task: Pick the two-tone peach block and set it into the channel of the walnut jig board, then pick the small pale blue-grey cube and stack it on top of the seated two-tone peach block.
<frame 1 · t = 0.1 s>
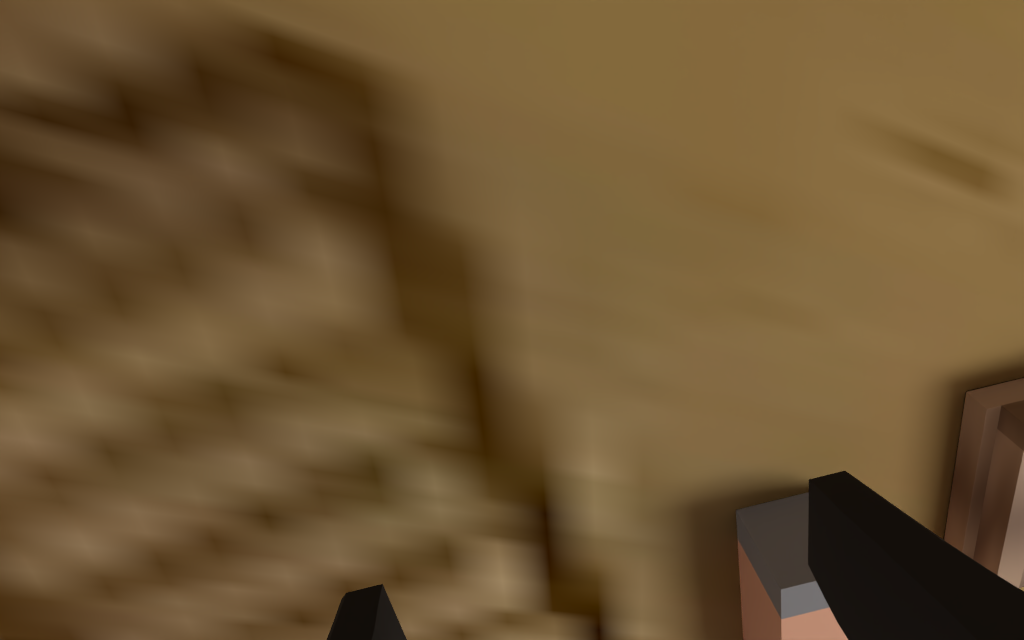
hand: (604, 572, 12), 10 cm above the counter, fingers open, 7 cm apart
two-tone peach block: (784, 571, 28), on the counter
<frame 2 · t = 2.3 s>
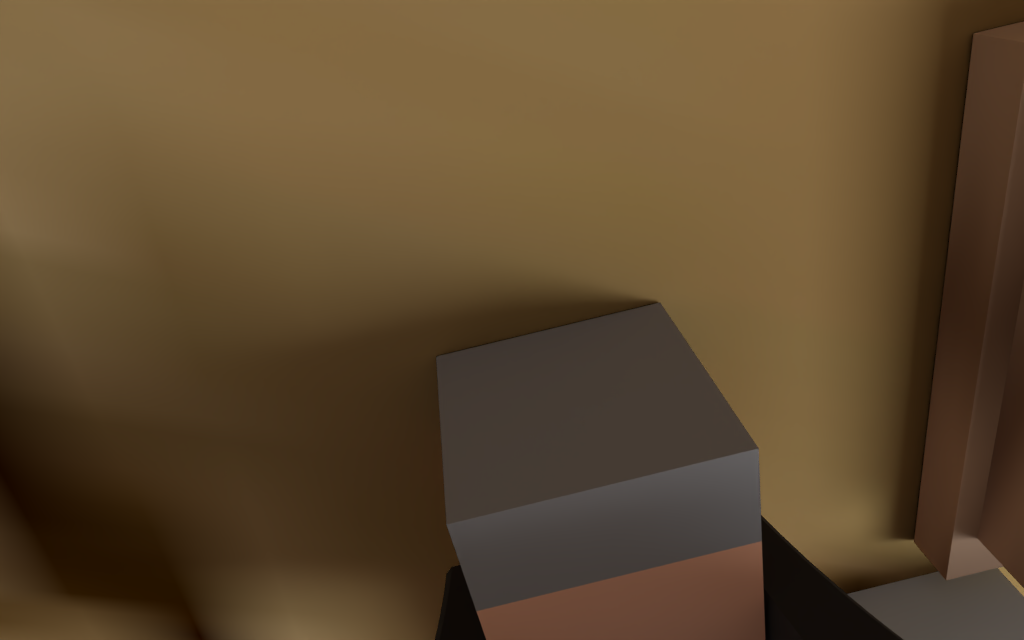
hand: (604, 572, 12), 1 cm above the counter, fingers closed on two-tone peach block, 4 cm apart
pale blue-grey cube: (900, 629, 16), on the counter
two-tone peach block: (585, 512, 13), on the counter, touching gripper
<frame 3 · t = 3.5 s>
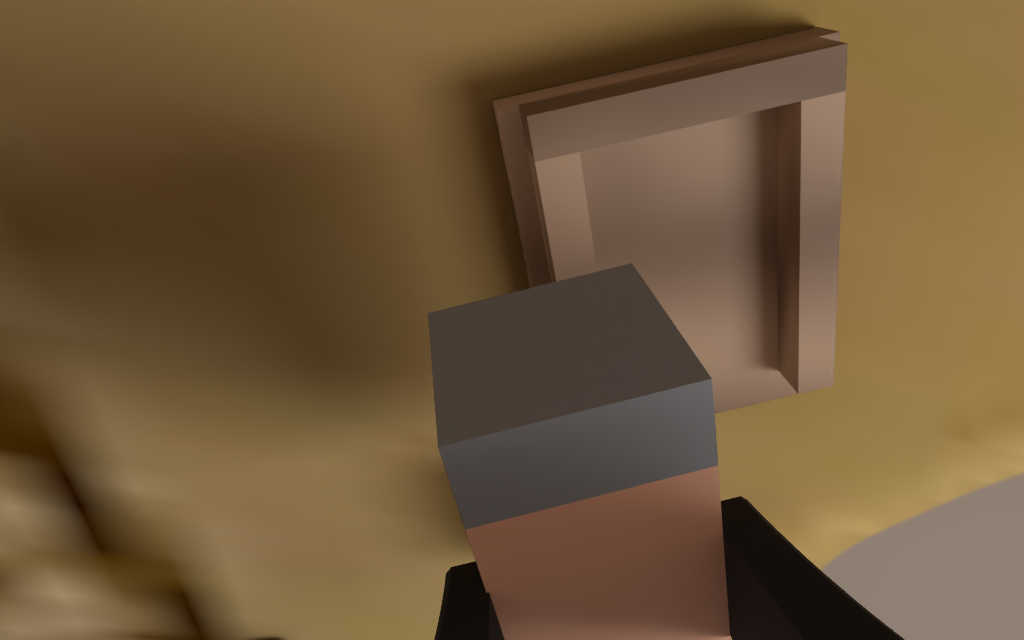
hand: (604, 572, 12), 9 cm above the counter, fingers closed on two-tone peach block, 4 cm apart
jig: (672, 252, 19), on the counter
two-tone peach block: (567, 461, 14), point 6 cm above the counter, touching gripper
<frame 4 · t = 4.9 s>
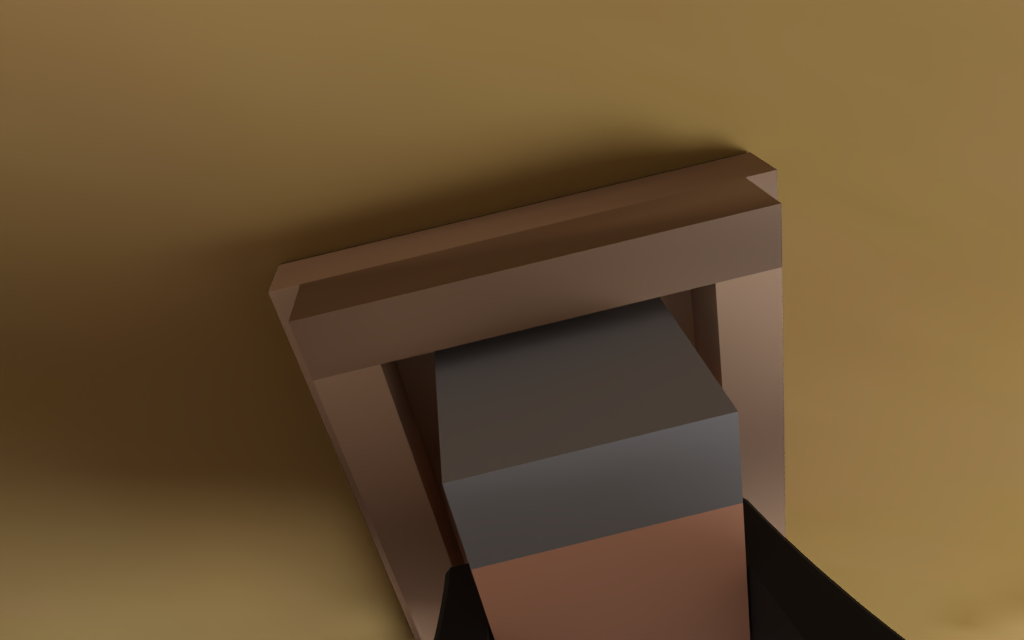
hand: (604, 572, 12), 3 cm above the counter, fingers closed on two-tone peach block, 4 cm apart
jig: (564, 440, 14), on the counter
two-tone peach block: (578, 487, 13), point 1 cm above the counter, touching gripper, jig
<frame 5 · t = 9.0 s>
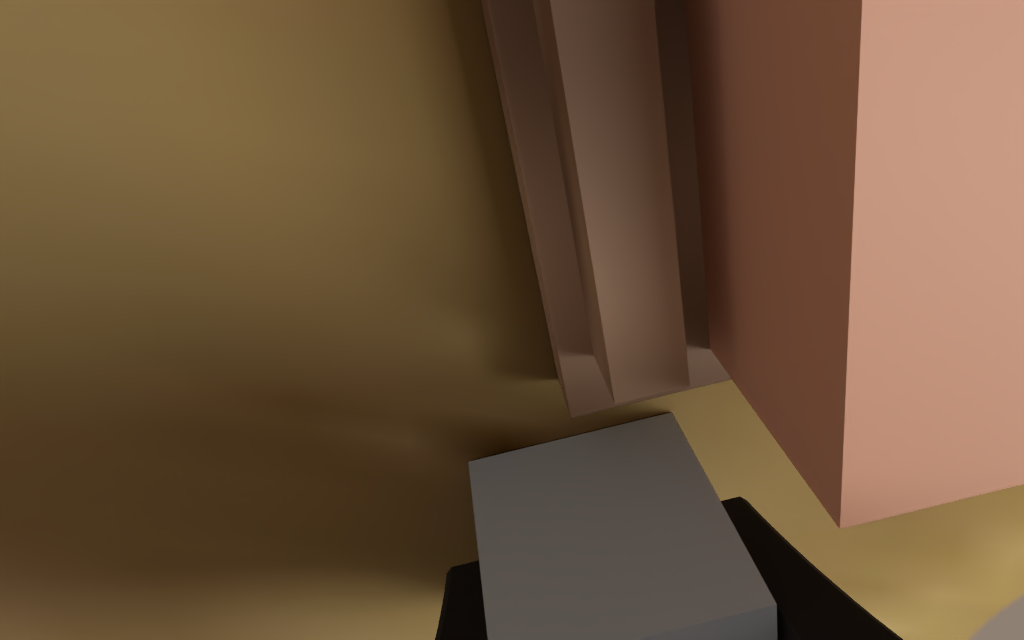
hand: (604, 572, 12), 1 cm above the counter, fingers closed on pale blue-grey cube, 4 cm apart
pale blue-grey cube: (585, 511, 13), on the counter, touching gripper
two-tone peach block: (836, 36, 8), point 1 cm above the counter, touching jig
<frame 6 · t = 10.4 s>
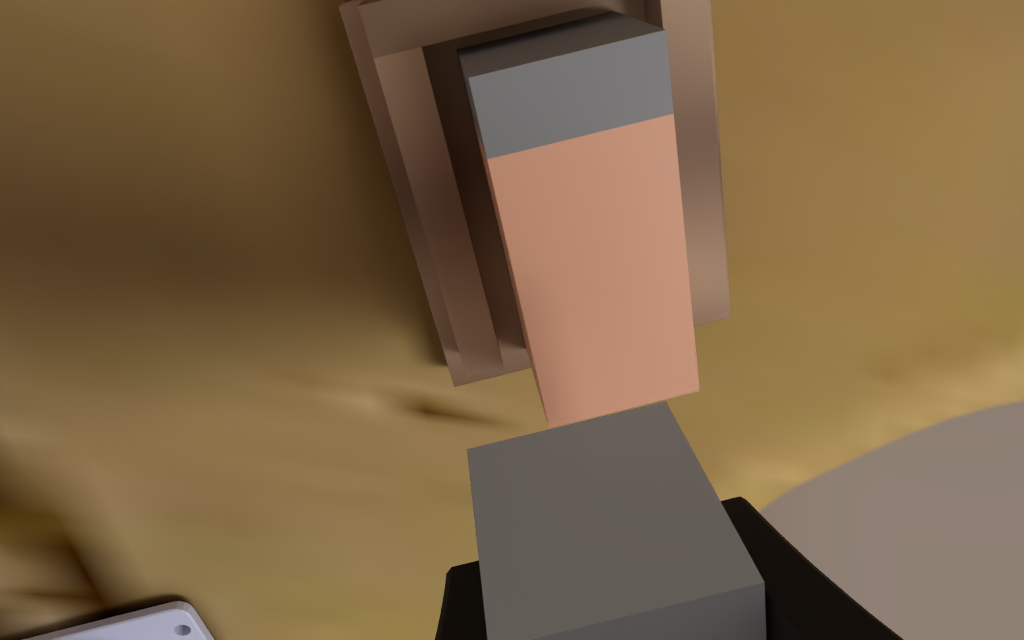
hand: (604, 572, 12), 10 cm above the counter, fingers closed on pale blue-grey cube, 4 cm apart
jig: (555, 172, 18), on the counter
pale blue-grey cube: (581, 499, 13), point 8 cm above the counter, touching gripper
two-tone peach block: (565, 198, 18), point 1 cm above the counter, touching jig
when the fingers open (7 cm above the counter, at t = 12.0 s): pale blue-grey cube stays where it is, resting on two-tone peach block.
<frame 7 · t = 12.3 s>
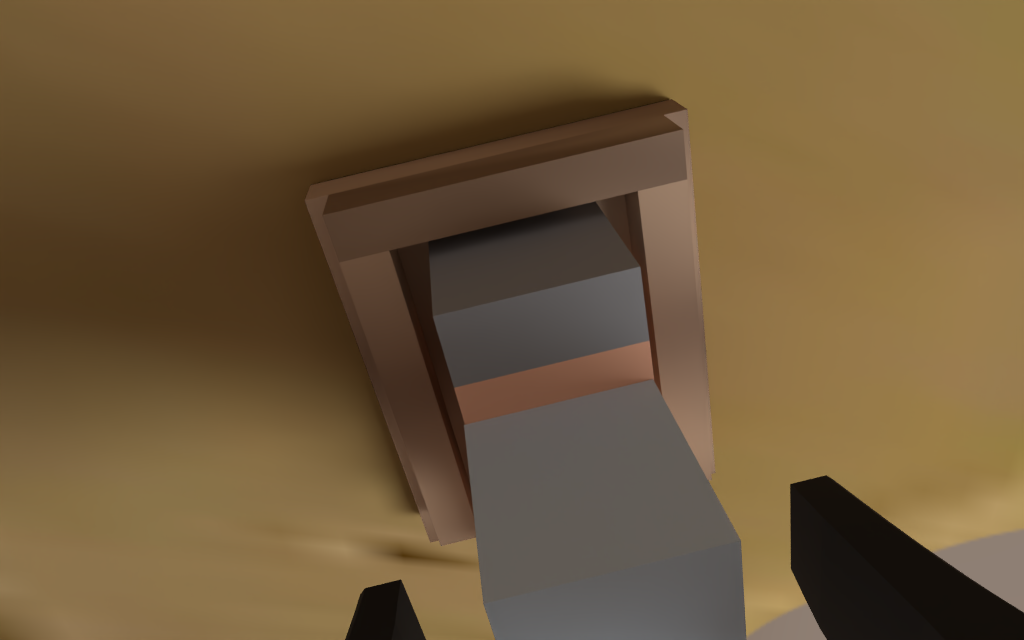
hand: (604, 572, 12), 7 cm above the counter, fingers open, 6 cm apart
jig: (534, 336, 18), on the counter
pale blue-grey cube: (573, 474, 14), point 5 cm above the counter, touching two-tone peach block
two-tone peach block: (543, 369, 17), point 1 cm above the counter, touching pale blue-grey cube, jig
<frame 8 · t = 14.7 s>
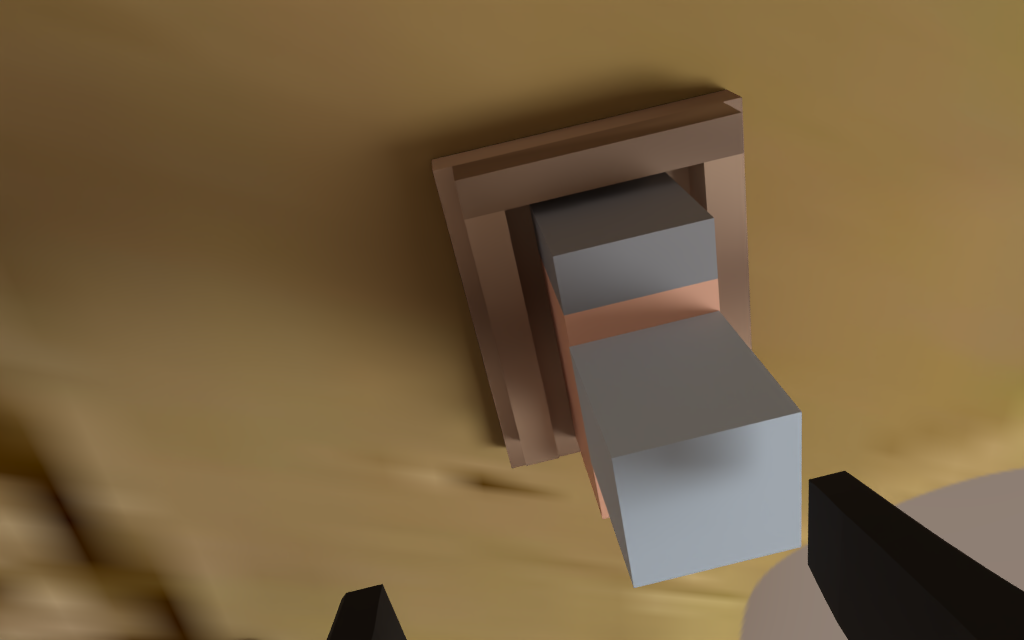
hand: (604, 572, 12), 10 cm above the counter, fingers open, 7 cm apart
jig: (604, 289, 21), on the counter
pale blue-grey cube: (651, 390, 17), point 5 cm above the counter, touching two-tone peach block
two-tone peach block: (615, 315, 20), point 1 cm above the counter, touching pale blue-grey cube, jig
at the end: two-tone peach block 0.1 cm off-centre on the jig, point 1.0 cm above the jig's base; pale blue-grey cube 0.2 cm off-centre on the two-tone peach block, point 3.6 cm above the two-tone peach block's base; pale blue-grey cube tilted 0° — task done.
